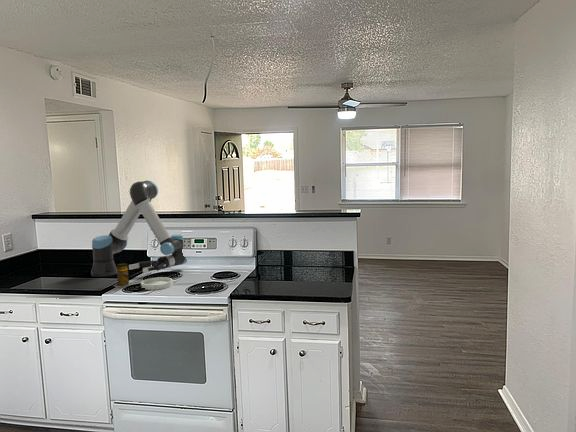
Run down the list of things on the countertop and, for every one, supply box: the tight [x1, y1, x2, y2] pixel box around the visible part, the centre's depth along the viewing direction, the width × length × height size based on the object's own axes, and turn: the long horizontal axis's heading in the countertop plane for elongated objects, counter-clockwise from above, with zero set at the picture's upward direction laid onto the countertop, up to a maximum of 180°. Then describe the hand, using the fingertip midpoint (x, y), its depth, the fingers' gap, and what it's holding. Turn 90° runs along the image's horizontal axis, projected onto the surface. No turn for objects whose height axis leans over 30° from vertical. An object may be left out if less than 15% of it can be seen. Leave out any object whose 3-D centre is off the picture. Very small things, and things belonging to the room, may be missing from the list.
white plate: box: [140, 276, 174, 291], centre depth 258 cm, size 17×17×2 cm
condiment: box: [113, 262, 132, 288], centre depth 260 cm, size 7×8×12 cm
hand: (136, 269), depth 267 cm, fingers open, 13 cm apart
